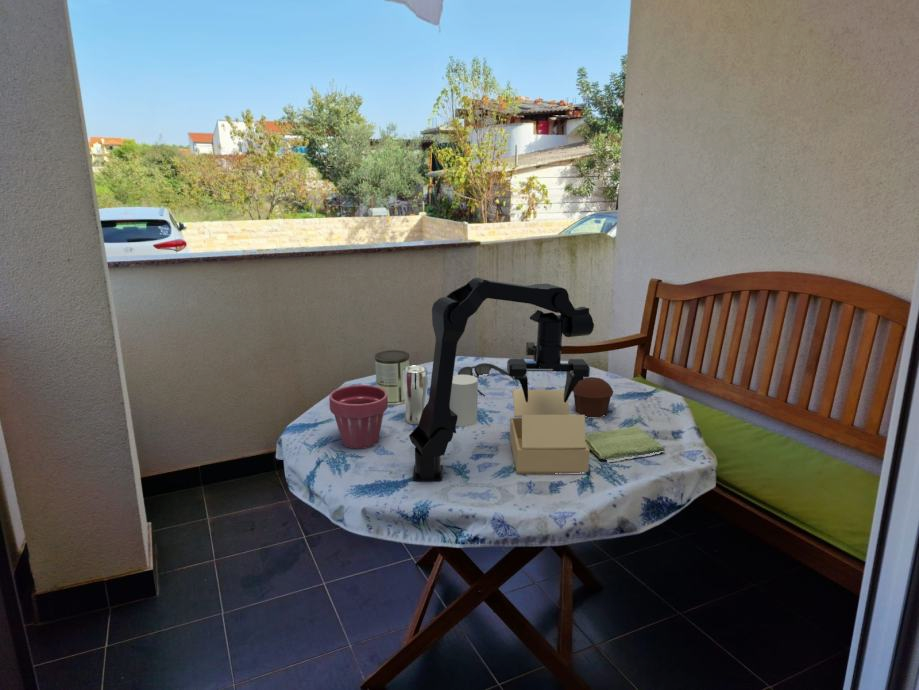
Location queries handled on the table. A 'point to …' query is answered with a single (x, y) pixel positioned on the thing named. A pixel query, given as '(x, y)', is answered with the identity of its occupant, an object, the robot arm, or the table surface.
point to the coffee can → (391, 374)
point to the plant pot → (359, 414)
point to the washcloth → (622, 443)
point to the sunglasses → (482, 371)
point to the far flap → (540, 403)
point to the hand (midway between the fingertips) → (545, 401)
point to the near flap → (553, 431)
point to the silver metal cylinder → (414, 392)
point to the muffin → (592, 397)
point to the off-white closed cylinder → (464, 399)
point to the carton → (545, 456)
